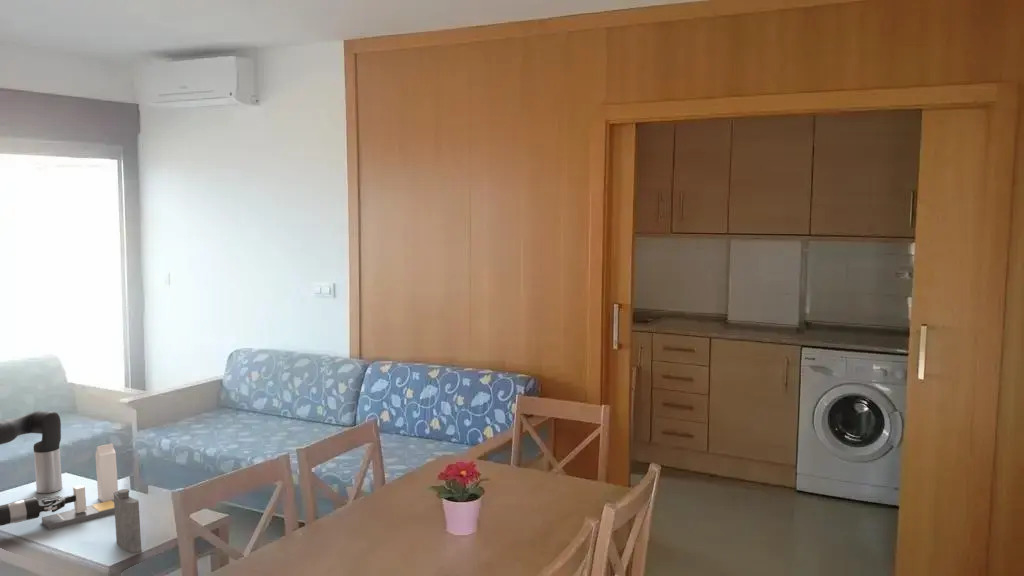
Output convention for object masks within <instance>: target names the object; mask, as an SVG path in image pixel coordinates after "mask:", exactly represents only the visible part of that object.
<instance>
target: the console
mask: <svg viewBox="0 0 1024 576" xmlns="http://www.w3.org/2000/svg"><path fill="white" fill-rule="evenodd" d="M113 514H114V515H115V508H114V499H113V500H109V501H105V502H102V501H101V502H99V503H95V504H90V505H86V511H84V512H80V513H77V512H76V511H75V508H73V509H71V510H65V511H63V512H62V511H61V512H58V513H55V514H50V515H46V516H42V517H41V523H42V524H43V525H44V526H45V527H46V528H47V529H48V530H49V531H52V530H55V529H59V528H62V527H63V528H64V527H67V526H71V525H75V524H79V523H82V522H88V521H91V520H94V519H95V520H96V519H99V518H103V517H106V516H109V515H113Z"/></svg>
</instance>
